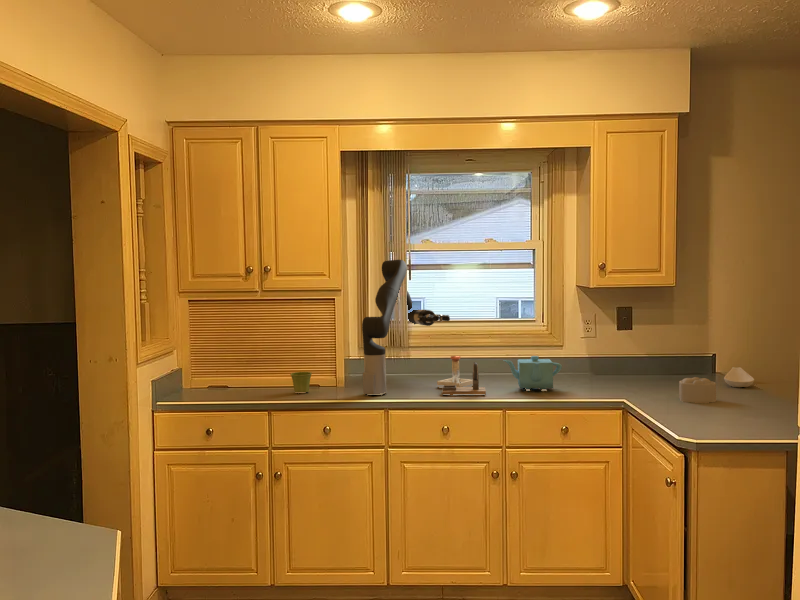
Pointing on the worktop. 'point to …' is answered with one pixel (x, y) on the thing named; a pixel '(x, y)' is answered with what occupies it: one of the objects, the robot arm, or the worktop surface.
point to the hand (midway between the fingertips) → (440, 319)
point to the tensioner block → (466, 390)
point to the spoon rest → (738, 378)
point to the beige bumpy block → (697, 390)
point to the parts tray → (449, 382)
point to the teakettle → (534, 372)
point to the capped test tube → (455, 369)
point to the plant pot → (301, 381)
